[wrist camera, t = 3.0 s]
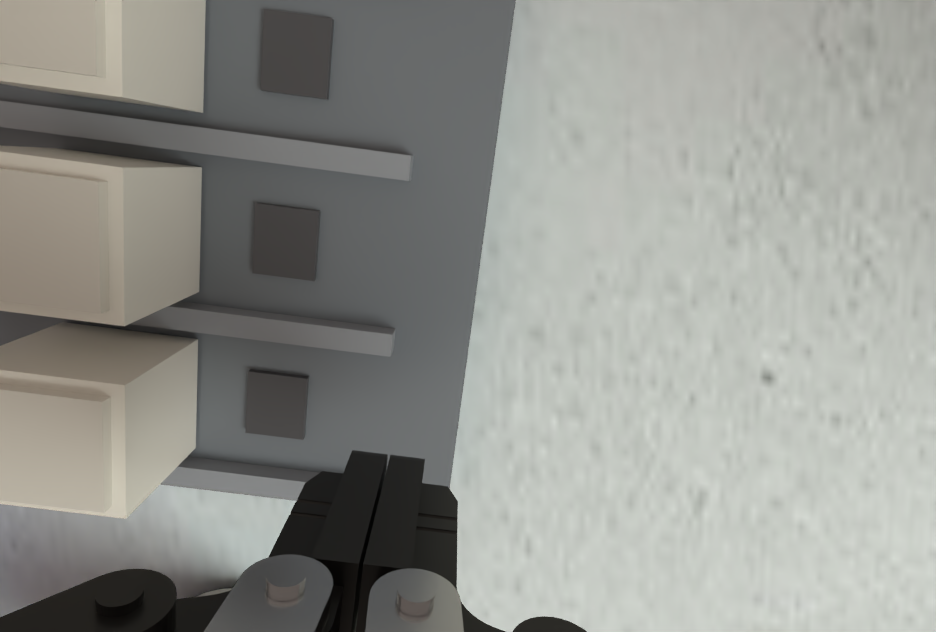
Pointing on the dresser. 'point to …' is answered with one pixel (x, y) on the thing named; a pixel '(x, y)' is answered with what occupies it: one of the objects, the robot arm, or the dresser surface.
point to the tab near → (107, 49)
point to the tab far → (94, 417)
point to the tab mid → (96, 234)
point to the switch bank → (316, 226)
